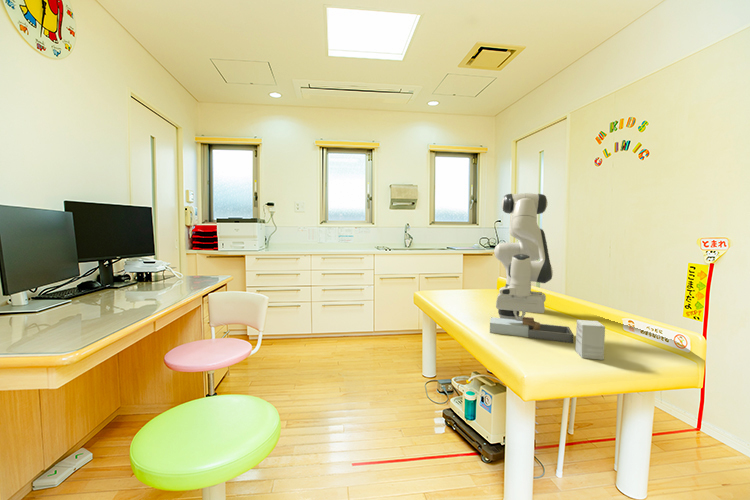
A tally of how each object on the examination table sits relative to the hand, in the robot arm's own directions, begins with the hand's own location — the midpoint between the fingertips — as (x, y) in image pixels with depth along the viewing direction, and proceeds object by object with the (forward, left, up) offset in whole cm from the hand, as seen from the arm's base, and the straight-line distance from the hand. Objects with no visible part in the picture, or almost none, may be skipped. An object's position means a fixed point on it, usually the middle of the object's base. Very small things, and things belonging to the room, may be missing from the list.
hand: (519, 320), depth 149 cm
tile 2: (0, +6, -2) cm, 6 cm away
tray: (0, +12, -6) cm, 13 cm away
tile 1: (0, +4, -1) cm, 4 cm away
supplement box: (+19, +24, -6) cm, 31 cm away
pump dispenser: (-19, -4, -6) cm, 20 cm away
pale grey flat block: (0, -4, -6) cm, 7 cm away
